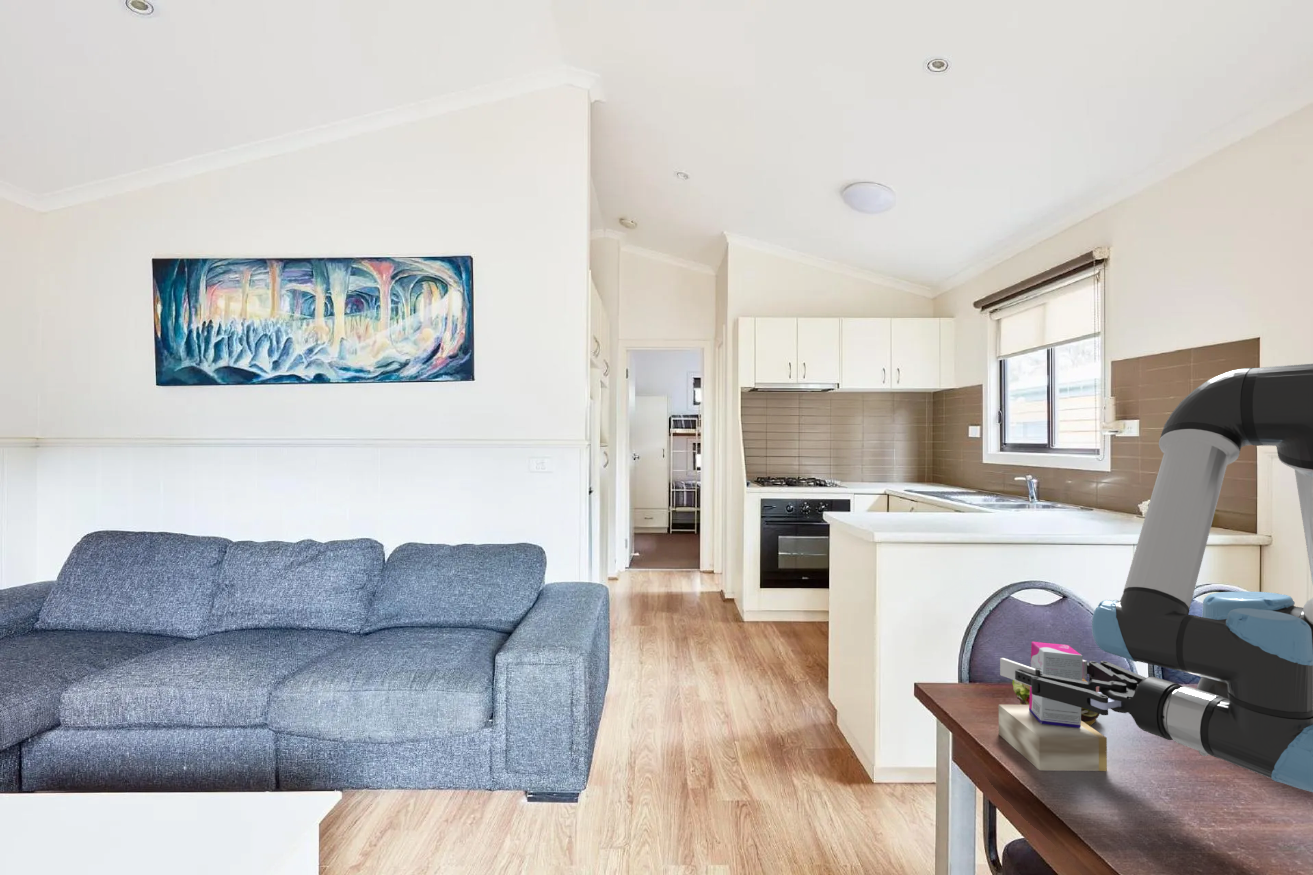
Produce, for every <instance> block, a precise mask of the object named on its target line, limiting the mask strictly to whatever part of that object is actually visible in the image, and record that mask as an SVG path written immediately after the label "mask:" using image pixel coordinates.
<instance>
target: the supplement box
mask: <svg viewBox="0 0 1313 875" xmlns="http://www.w3.org/2000/svg"><path fill="white" fill-rule="evenodd" d="M1030 644H1031V646H1030V649H1031V650H1030V667H1032V668H1035V669H1036V668H1040V670H1041V671H1042V674H1047V675H1052V676H1058V677H1063V678H1069V679H1075V680H1080V681H1082V664H1083V660H1084V659H1083V657H1084V656H1083V655H1082V653H1080V652H1078V651H1077V650H1075V649H1074V648H1073V647H1072V646H1070V645H1069V644H1064V643H1063V644H1061V643H1049V642H1040V641H1031V643H1030ZM1029 711H1030V712H1031V713H1032V714H1033V715H1034V717H1035V718H1036V719H1037V720H1038V721H1039V722H1040V724H1042V725H1052V726H1062V727H1071V728H1080V727H1081V707H1077V706H1074V705H1070V704H1066V703H1062V702H1059V701H1055V700H1051V699H1048V698H1044V697H1040V696H1036V695H1033V694H1032V693H1031V686H1030V701H1029Z"/></svg>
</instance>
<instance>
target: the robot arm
mask: <svg viewBox="0 0 1313 875" xmlns="http://www.w3.org/2000/svg"><path fill="white" fill-rule="evenodd" d="M1245 446H1258V447H1259V446H1262V447H1263V446H1270V447H1271V446H1273V447H1275V448H1276V451H1277V458H1278V459H1279V460H1278V461H1280V462H1281V464H1283V465H1285V466H1287V467H1289V468H1290V469H1291V468H1292V469H1293V470H1294V475H1295V480H1296V481H1295V482H1296V488H1297V494H1298V500H1299V506H1300V507H1299V508H1300V512H1301V520H1302V526H1303V530H1304V531H1303V532H1304V537H1305V538H1304V539H1305V544H1306V545H1305V546H1306V552H1307V557H1308V563H1309V570H1310V577H1311V581H1312V582H1311V583H1312V585H1313V363H1304V364H1303V363H1302V364H1292V365H1291V364H1290V365H1278V366H1277V365H1276V366H1265V367H1245V368H1238V369H1233V370H1229V371H1226V372H1223V373H1221V374H1219V375H1216V376H1214V377H1212V378H1209V379H1207V381H1205V382H1203V383H1202V384H1200V385H1198V387H1196V388H1195V389H1194V390H1192V391H1191V392H1190V393H1189V394H1188V395H1187V396H1186V397H1184V398H1183V399H1182V401H1180V402H1179V403H1178V404H1177V406H1176V407H1175V408H1174V409H1173V411H1172V412H1171V413H1170V415H1169V416H1168V419H1166V422H1165V423H1164V426H1163V428H1162V431H1161V433H1160V438H1159V440H1158V447H1159V449H1160V451H1161V453H1163V454H1162V458H1161V462H1160V465H1159V470H1158V472H1157V477H1156V479H1155V483H1154V486H1153V489H1152V493H1151V496H1150V499H1149V504H1148V507H1147V509H1146V513H1145V516H1144V520H1143V523H1142V527H1141V529H1140V534H1139V537H1138V541H1137V544H1136V546H1135V551H1134V554H1133V557H1132V560H1131V565H1130V567H1129V571H1128V575H1127V578H1126V582H1125V584H1124V588H1123V591H1122V592H1123V593H1122V596H1121V597H1120V600H1117V599H1114V600H1111V599H1104V600H1102V601H1100V602H1099V604H1098V605H1097V607H1096V608H1095V609H1094V611H1093V613H1092V614H1093V615H1092V620H1091V632H1092V633H1091V634H1092V637H1093V640H1094V642H1095V644H1096V645H1097V646H1098V648H1099V649H1100V650H1102V652H1105V653H1108V654H1110V655H1114V656H1117V657H1121V658H1124V659H1126V660H1130V661H1132V662H1136V663H1137V662H1139V663H1144V664H1148V665H1153V666H1157V667H1160V668H1165V669H1170V670H1173V671H1179V672H1183V673H1184V674H1191V675H1193V676H1197V677H1200V679H1199V681H1198V684H1197V686H1196V688H1195V687H1191V686H1182V685H1181V684H1179V683H1176V682H1173V681H1169V680H1166V679H1163V678H1159V677H1156V676H1149V677H1145V676H1143V675H1140V674H1137V673H1136V672H1133V671H1131V670H1128V669H1126V668H1123V667H1122V666H1119V665H1116V664H1115V663H1114V664H1113V663H1112V662H1108V661H1107V660H1101V661H1100V663H1099V662H1097V661H1094V660H1091V661H1090V660H1089V662H1088V661H1087V659H1086V660H1085V659H1083V664H1082V678H1084V679H1087V678H1088V681H1087V680H1086V681H1087V682H1086V681H1080V680H1075V679H1069V678H1063V677H1058V676H1052V675H1047V674H1042V671H1041V670H1040V668H1036V669H1035V668H1032V667H1031V666H1028V665H1025V664H1023V663H1021V662H1020V663H1019V662H1017V661H1014V660H1011V659H1008V658H1007V657H1006V658H1005V657H1000V659H999V663H1000V664H999V666H1000V667H999V669H1000V670H999V674H1000V676H1001V677H1004V678H1008V679H1010V680H1012V681H1013V680H1015V681H1017V682H1020V683H1023V684H1026V685H1028V686H1031V693H1032V694H1033V695H1036V696H1040V697H1044V698H1048V699H1051V700H1055V701H1059V702H1062V703H1066V704H1070V705H1074V706H1077V707H1081V708H1085V709H1088V710H1091V711H1093V712H1096V713H1098V714H1099V715H1101V716H1108V715H1109V709H1110V710H1112V711H1113V712H1114V713H1115V712H1116V713H1120V714H1127V713H1128V714H1129V715H1130V716H1131V717H1132V719H1133V721H1134V723H1135V725H1137V727H1138V728H1139V729H1140V730H1142V731H1144V732H1146V733H1148V734H1152V735H1154V736H1157V737H1160V738H1161V739H1164V740H1167V741H1174V743H1177V744H1179V745H1182V746H1185V747H1186V748H1187V747H1188V748H1190V749H1193V750H1196V751H1198V753H1199V754H1200V755H1201V756H1203V757H1208V756H1210V757H1214V758H1216V759H1220V760H1223V761H1225V762H1228V763H1231V764H1233V765H1236V766H1238V767H1240V768H1243V769H1245V770H1249V771H1251V772H1253V773H1256V774H1258V775H1261V776H1264V777H1266V778H1268V779H1270V780H1272V781H1274V782H1276V783H1281V784H1284V785H1287V786H1290V787H1292V788H1296V789H1299V790H1302V791H1307V792H1310V793H1313V597H1312V598H1309V600H1307V601H1306V602H1305V603H1304V606H1303V607H1300V606H1296V605H1295V601H1294V599H1293V597H1292V596H1290V595H1288V594H1282V593H1276V592H1268V591H1267V592H1266V591H1223V592H1214V593H1210V594H1209V595H1207V596H1205V597H1204V598H1203V601H1202V610H1201V612H1202V613H1201V616H1199V615H1195V614H1194V615H1193V614H1190V611H1191V610H1190V608H1191V606H1192V605H1191V604H1192V600H1193V596H1194V594H1195V590H1196V586H1197V581H1198V577H1199V574H1200V570H1201V568H1202V567H1201V566H1202V562H1203V559H1204V554H1205V551H1206V548H1207V544H1208V540H1209V536H1210V532H1211V529H1212V524H1213V521H1214V517H1215V513H1216V509H1217V505H1218V501H1219V498H1220V494H1221V489H1222V487H1223V482H1224V480H1225V478H1224V477H1225V475H1226V471H1227V468H1228V465H1231V464H1233V463H1234V462H1235V461H1237V460H1238V458H1239V457H1240V453H1241V449H1242V448H1243V447H1245ZM1097 687H1098V691H1097Z"/></svg>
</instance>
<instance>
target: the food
mask: <svg viewBox="0 0 1313 875" xmlns="http://www.w3.org/2000/svg"><path fill="white" fill-rule="evenodd" d="M1082 681H1086V682H1088V681H1087V680H1086V678H1082ZM1011 682H1012V683H1011V684H1012V686H1013V692H1014V694H1016V697H1017V698H1016V699H1018V700H1019V705H1029V701H1030V686H1028V685H1026V684H1023V683H1020V682H1017V681H1015V680H1012V681H1011ZM1099 716H1100V714H1098V713H1096V712H1093V711H1091V710H1088V709H1085V708H1081V721H1083V722H1084V723H1086V724H1087V725H1089V726H1090V727H1092V725H1093V724H1095V723H1096V720H1097V719H1098V718H1099Z"/></svg>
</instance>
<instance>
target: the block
mask: <svg viewBox="0 0 1313 875" xmlns="http://www.w3.org/2000/svg"><path fill="white" fill-rule="evenodd" d="M998 735H999V736H1000V737H1001V738H1002V739H1003V740H1005V741H1006V743H1008V744H1009V745H1010V746H1011V747H1012V748H1013V749H1015V750H1016V751H1017V752H1018V753H1019V754H1020V755H1021V756H1022V757H1024V758H1025V759H1026V760H1027V761H1028V762H1029V763H1030V764H1031V765H1033V766H1034V768H1036V769H1037V770H1038V771H1054V772H1055V771H1057V772H1058V771H1060V772H1062V771H1065V772H1067V771H1068V772H1069V771H1070V772H1071V771H1074V772H1107V771H1108V764H1107V763H1108V756H1107V755H1108V746H1107V745H1108V739H1107V737H1106V736H1105V735H1104V734H1102V733H1100V732H1099V731H1098V730H1096V729H1095V728H1093V727H1092V726H1089V725H1087V724H1086V723H1084V722H1083V721H1081V727H1080V728H1071V727H1062V726H1052V725H1042V724H1040V722H1039V721H1038V720H1037V719H1036V718H1035V717H1034V715H1033V714H1032V713H1031V712H1030V711H1029V705H1020V704H998Z"/></svg>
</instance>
